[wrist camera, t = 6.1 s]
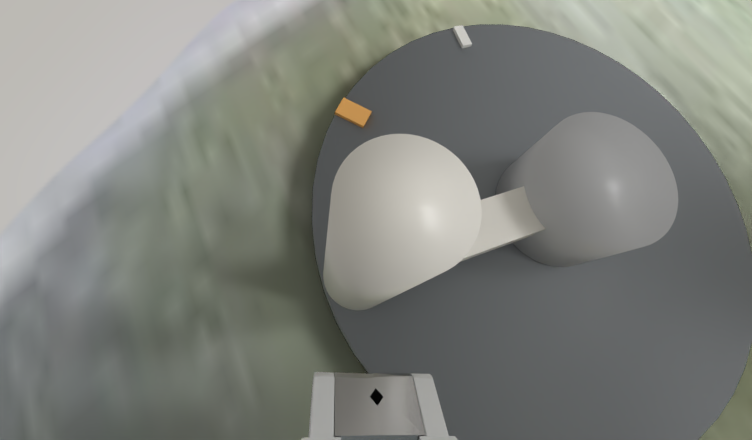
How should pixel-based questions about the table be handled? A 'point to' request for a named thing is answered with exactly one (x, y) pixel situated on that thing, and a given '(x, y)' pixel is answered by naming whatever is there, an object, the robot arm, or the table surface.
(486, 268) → the dial plate
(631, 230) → the dial lever
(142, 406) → the table surface
